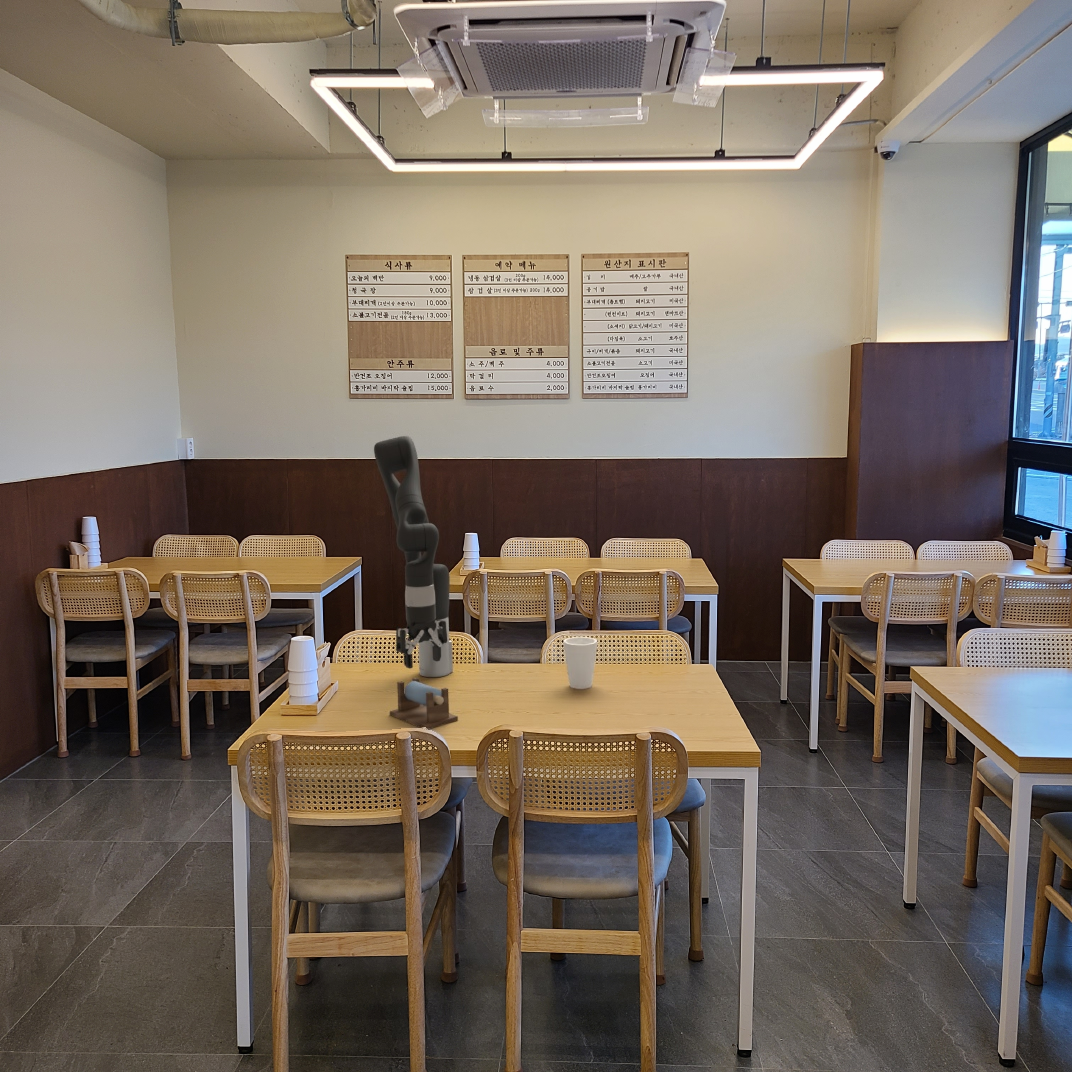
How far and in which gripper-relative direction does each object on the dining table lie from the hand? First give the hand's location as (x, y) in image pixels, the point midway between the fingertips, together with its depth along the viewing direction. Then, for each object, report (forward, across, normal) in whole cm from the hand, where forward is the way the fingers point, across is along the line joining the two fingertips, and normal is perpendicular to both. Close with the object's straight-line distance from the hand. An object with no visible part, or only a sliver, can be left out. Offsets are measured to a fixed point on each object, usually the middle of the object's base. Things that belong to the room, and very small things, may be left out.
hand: (422, 664), depth 238 cm
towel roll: (+10, +1, 0) cm, 10 cm away
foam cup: (+15, -48, +9) cm, 51 cm away
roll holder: (+14, 0, 0) cm, 14 cm away
